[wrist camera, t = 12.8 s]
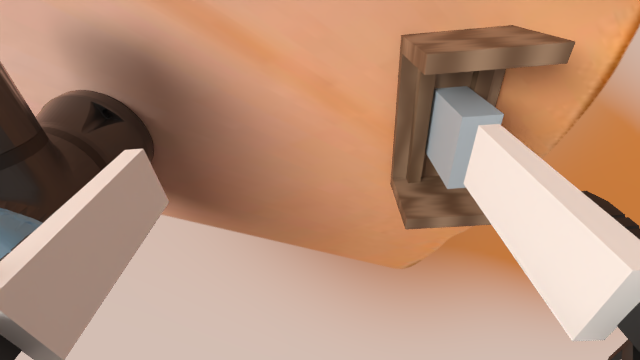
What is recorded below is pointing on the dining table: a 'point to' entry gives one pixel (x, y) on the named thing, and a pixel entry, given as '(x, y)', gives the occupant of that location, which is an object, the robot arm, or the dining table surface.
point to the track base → (416, 100)
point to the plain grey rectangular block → (456, 131)
